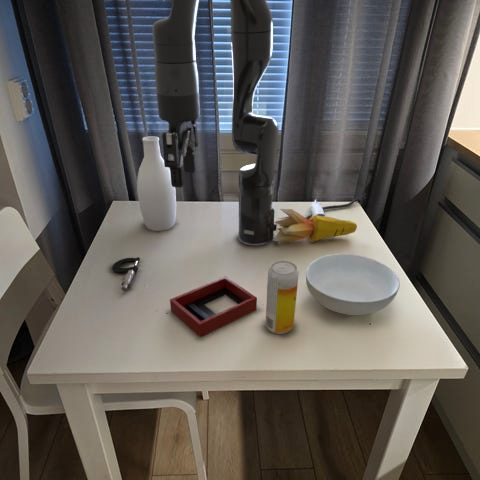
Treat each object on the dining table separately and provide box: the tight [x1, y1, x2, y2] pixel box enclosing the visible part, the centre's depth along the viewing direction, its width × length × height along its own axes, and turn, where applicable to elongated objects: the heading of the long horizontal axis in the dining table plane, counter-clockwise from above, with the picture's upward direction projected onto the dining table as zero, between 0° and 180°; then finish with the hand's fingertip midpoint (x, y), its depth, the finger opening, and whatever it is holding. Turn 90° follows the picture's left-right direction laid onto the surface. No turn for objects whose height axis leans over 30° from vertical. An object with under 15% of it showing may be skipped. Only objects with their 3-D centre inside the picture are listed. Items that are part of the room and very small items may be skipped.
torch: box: [273, 208, 358, 245], centre depth 128 cm, size 8×8×25 cm
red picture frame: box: [169, 276, 258, 338], centre depth 101 cm, size 16×12×4 cm
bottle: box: [136, 135, 177, 232], centre depth 129 cm, size 11×11×25 cm
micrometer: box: [111, 256, 141, 292], centre depth 113 cm, size 15×7×2 cm, turn 177°
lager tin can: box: [264, 259, 300, 335], centre depth 93 cm, size 6×6×15 cm
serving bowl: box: [305, 253, 401, 316], centre depth 103 cm, size 21×21×7 cm
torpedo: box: [308, 192, 326, 217], centre depth 139 cm, size 18×5×6 cm, turn 0°
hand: (184, 178), depth 90 cm, fingers open, 8 cm apart
